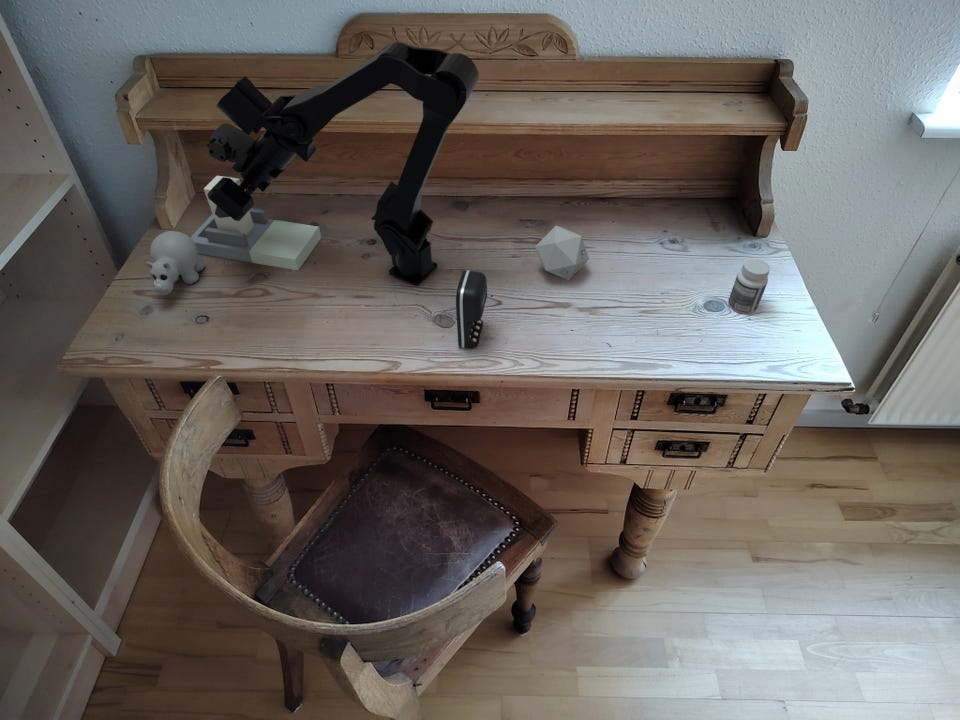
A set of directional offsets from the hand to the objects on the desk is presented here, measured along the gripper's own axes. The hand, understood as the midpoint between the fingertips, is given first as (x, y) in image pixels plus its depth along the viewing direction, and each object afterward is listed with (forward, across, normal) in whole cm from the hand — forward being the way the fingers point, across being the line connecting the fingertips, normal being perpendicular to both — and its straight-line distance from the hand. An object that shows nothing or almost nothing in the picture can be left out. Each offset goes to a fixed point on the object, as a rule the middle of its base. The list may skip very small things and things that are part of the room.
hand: (231, 200), depth 117 cm
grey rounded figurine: (+10, +14, +3) cm, 17 cm away
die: (-35, -6, +48) cm, 60 cm away
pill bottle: (-57, -5, +70) cm, 90 cm away
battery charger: (-28, +13, +40) cm, 51 cm away
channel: (+5, 0, +8) cm, 10 cm away
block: (+5, 0, +4) cm, 7 cm away
